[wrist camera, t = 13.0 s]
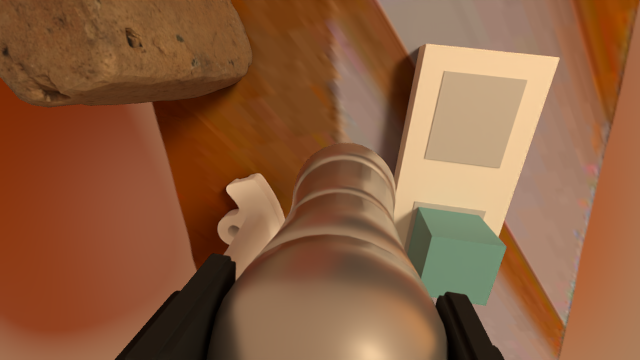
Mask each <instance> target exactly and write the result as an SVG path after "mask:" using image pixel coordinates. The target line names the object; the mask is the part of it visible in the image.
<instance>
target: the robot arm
mask: <svg viewBox="0 0 640 360" xmlns="http://www.w3.org/2000/svg"><path fill="white" fill-rule="evenodd" d="M235 282H236V262H235V261H231V257H230V256H227V255H221V254H214V253H213V254H211V255H210V256H209V258H208V259H207V260H206V261H205V262H204V264H203V265H202V266H201V267H200V268H199V270H198V271H197V272H196V273H195V274H194V276H193V277H192V278H191V279H190V280H189V282H188V283H187V284H186V285H185V286H184V287H183V289H182V290H181V291H175V292H174V293H173V294H171V295H170V297H169V298H168V299H167V300H166V301H165V302H164V303H163V305H162V306H161V307H160V308H159V309H158V310H157V312H156V313H155V314H154V315H153V316H152V317H151V318H150V320H149V321H148V322H147V323H146V324H145V325H144V326H143V328H142V329H141V330H140V331H139V332H138V333H137V335H136V336H135V337H134V338H133V339H132V340H131V341H130V343H129V344H128V345H127V346H126V347H125V348H124V349H123V351H122V352H121V353H120V354H119V355H118V356H117V358H116V359H115V360H206V359H207V354H208V349H209V344H210V339H211V334H212V330H213V325H214V320H215V316H216V314H217V311H218V309H219V307H220V305H221V303H222V300H223V298H224V297H225V296H226V294H227V293H228V292H229V290H230V289H231V288H232V286H233V285H234V283H235ZM435 307H436V309H437V312H438V314H439V316H440V318H441V320H442V323H443V325H444V329H445V332H446V336H447V340H448V344H449V360H504V358H503V356H502V354H501V352H500V351H499V349H498V348H497V347H495V346H494V345H492V343H491V341H490V339H489V337H488V335H487V333H486V331H485V329H484V327H483V325H482V323H481V321H480V319H479V317H478V315H477V313H476V312H475V310H474V308H473V306H472V304H471V302H470V300H469V298H468V296H467V295H465V294H460V293H454V292H448V291H447V292H445V294H444V296H443V295H439V296H438V299H437V302H436V306H435Z"/></svg>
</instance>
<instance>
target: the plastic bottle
mask: <svg viewBox="0 0 640 360" xmlns="http://www.w3.org/2000/svg"><path fill="white" fill-rule="evenodd" d="M395 203H396V190H395V182H394V178H393V175H392V173H391V171H390V169H389V167H388V165H387V164H386V163H385V162H384V160H383V159H382V158H381V157H380V156H378V155H377V154H376V153H375V152H373V151H372V150H370V149H368V148H366V147H364V146H362V145H358V144H355V143H338V144H334V145H331V146H328V147H325V148H323V149H321V150H320V151H318V152H316V153H315V154H313V155H312V156H311V157H310V158H309V159H308V160H307V161H306V162H305V164H304V165H303V166H302V168H301V169H300V172H299V174H298V176H297V179H296V183H295V187H294V192H293V203H292V207H291V210H290V213H289V215H288V216H287V218H286V220H285V221H284V223H283V224H282V226H281V228H280V229H279V231H278V232H277V234H276V235H275V236H274V237H273V238H272V239H271V241H270V242H269V243H268V244H267V245H266V246H265V247H264V248H263V250H262V251H261V252H260V253H259V254H258V255H257V256H256V257H255V259H254V260H253V261H252V262H251V263H250V264H249V265H248V266H247V267H246V269H245V270H244V271H243V273H242V274H241V275H240V276H239V278H238V279H237V280H236V282H235V283H234V285H233V286H232V288H231V289H230V290H229V292H228V293H227V294H226V296H225V297H224V298H223V300H222V303H221V305H220V307H219V309H218V311H217V314H216V316H215V320H214V325H213V330H212V334H211V339H210V344H209V349H208V354H207V359H206V360H449V344H448V340H447V336H446V332H445V329H444V325H443V323H442V320H441V318H440V316H439V314H438V312H437V309H436V307H435V304H434V302H433V300H432V298H431V296H430V294H429V292H428V291H427V289H426V287H425V285H424V283H423V282H422V280H421V279H420V277H419V275H418V273H417V271H416V270H415V268H414V266H413V264H412V263H411V261H410V259H409V257H408V256H407V254H406V252H405V250H404V249H403V246H402V243H401V241H400V238H399V235H398V232H397V230H396V227H395V224H394V209H395Z"/></svg>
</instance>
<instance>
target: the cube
mask: <svg viewBox="0 0 640 360" xmlns="http://www.w3.org/2000/svg"><path fill="white" fill-rule="evenodd" d="M505 250H506V246H505V245H504V243H503V242H502V241H501V240H500V239H499V238H498V237H497V235H496V234H495V233H494V232H493V231H492V230H491V229H490V227H489V226H488V225H487V224H486V223H485V222H484V221H483V219H482V218H481V217H480V216H479V215H473V214H466V213H458V212H451V211H444V210H437V209H430V208H423V207H418V211H417V215H416V219H415V224H414V228H413V232H412V237H411V241H410V245H409V249H408V254H407V256H408V257H409V259H410V261H411V263H412V264H413V266H414V268H415V270H416V271H417V273H418V275H419V277H420V279H421V280H422V282H423V283H424V285H425V287H426V289H427V291H428V292H429V294H430V296H431V297H435V298H438V296H439V295H443V296H444V294H445V292H447V291H448V292H454V293H460V294H465V295H467V296H468V298H469V300H470V302H471V303H472V304H478V305H485V306H486V303H487V300H488V298H489V295H490V292H491V289H492V286H493V284H494V281H495V278H496V275H497V272H498V270H499V267H500V264H501V261H502V258H503V255H504V253H505Z"/></svg>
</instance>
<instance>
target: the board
mask: <svg viewBox="0 0 640 360" xmlns="http://www.w3.org/2000/svg"><path fill="white" fill-rule="evenodd" d="M558 61H559V57H549V56H539V55H530V54H520V53H510V52H501V51H491V50H481V49H472V48H462V47H452V46H443V45H433V44H425V45H423V46H420V48H419V53H418V58H417V63H416V68H415V73H414V78H413V83H412V88H411V93H410V98H409V103H408V108H407V114H406V119H405V124H404V129H403V134H402V139H401V144H400V149H399V154H398V159H397V164H396V169H395V174H394V182H395V190H396V203H395V209H394V224H395V227H396V230H397V232H398V235H399V238H400V241H401V243H402V246H403V249H404V250H405V252H406V254H408V249H409V245H410V241H411V237H412V232H413V228H414V224H415V219H416V215H417V211H418V207H423V208H430V209H437V210H444V211H451V212H458V213H466V214H473V215H479V216H480V217H481V218H482V219H483V221H484V222H485V223H486V224H487V225H488V226H489V227H490V229H491V230H492V231H493V232H494V233H495V234H496V235H497V237H499V234H500V231H501V228H502V225H503V222H504V219H505V216H506V213H507V210H508V207H509V205H510V202H511V199H512V196H513V193H514V190H515V187H516V184H517V181H518V178H519V175H520V172H521V169H522V167H523V164H524V161H525V158H526V155H527V152H528V149H529V146H530V143H531V140H532V137H533V134H534V131H535V129H536V126H537V123H538V120H539V117H540V114H541V111H542V108H543V105H544V102H545V99H546V96H547V93H548V91H549V88H550V85H551V82H552V79H553V76H554V73H555V70H556V67H557V64H558Z"/></svg>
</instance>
